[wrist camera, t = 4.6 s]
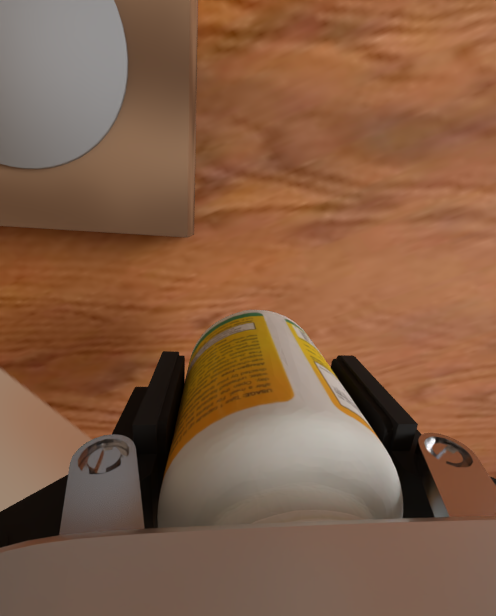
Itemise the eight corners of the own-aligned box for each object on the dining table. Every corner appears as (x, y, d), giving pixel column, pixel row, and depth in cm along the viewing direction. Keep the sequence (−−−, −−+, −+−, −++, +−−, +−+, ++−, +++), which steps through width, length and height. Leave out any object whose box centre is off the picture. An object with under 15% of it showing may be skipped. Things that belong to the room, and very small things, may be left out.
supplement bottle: (330, 323, 13) (609, 605, 4) (290, 426, 14) (417, 813, 5) (205, 291, 12) (155, 559, 3) (176, 405, 13) (80, 830, 4)
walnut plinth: (-124, -113, 13) (-279, -266, 9) (198, -59, 15) (191, -169, 11) (-58, 218, 17) (-148, 216, 13) (194, 234, 18) (187, 237, 14)
